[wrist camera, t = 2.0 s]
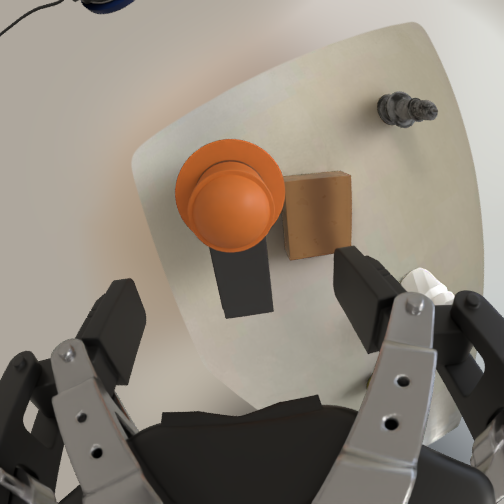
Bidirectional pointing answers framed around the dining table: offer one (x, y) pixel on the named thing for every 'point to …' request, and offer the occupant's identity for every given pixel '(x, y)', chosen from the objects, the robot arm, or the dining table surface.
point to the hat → (230, 194)
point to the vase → (427, 286)
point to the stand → (317, 213)
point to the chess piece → (405, 109)
